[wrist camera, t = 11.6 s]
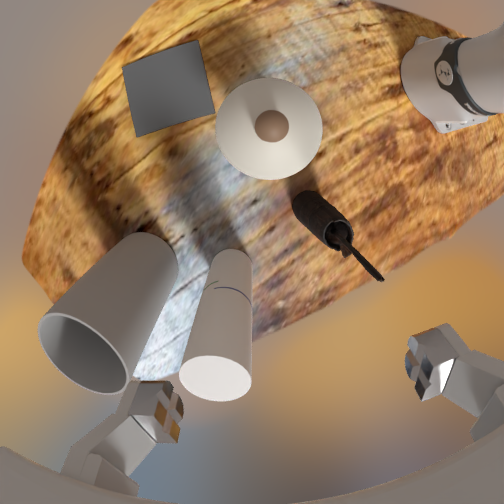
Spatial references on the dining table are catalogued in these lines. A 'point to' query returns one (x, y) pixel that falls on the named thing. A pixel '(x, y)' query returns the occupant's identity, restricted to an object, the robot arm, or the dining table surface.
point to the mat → (168, 88)
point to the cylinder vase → (110, 314)
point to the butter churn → (329, 226)
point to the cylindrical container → (222, 332)
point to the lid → (268, 128)
